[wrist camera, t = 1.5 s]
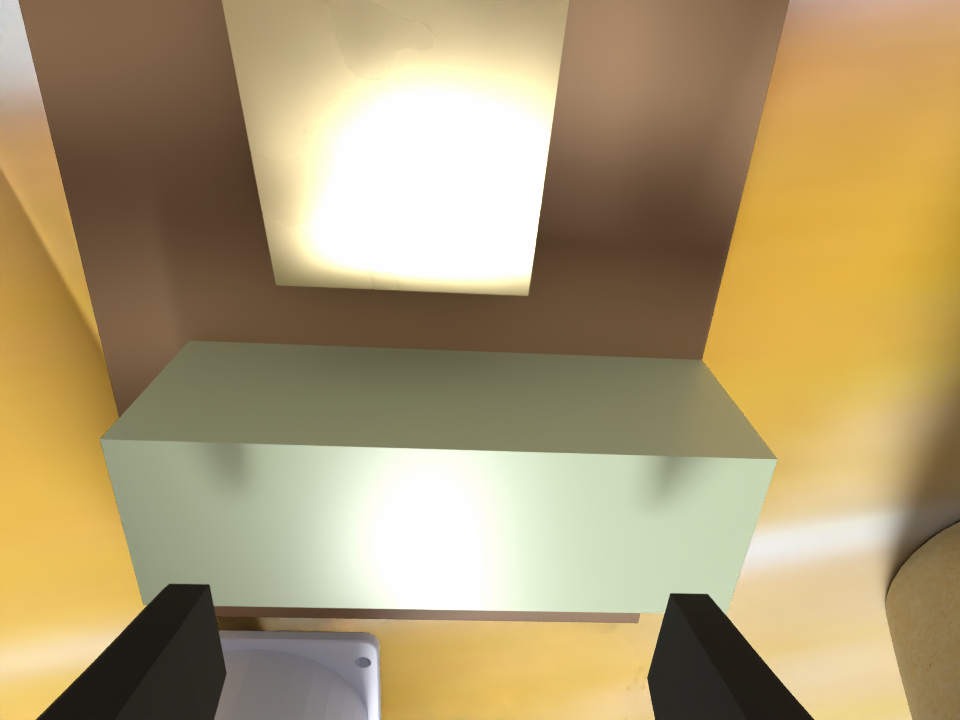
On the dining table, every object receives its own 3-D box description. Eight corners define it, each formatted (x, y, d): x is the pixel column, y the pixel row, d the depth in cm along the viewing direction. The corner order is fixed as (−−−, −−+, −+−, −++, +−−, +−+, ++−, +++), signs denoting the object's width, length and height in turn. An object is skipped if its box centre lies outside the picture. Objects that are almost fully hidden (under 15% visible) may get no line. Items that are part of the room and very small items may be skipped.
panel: (619, 562, 21) (652, 670, 18) (198, 553, 21) (142, 664, 17) (845, -512, 10) (1055, -813, 7) (-30, -611, 10) (-327, -1003, 6)
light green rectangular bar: (669, 492, 17) (726, 614, 13) (212, 480, 16) (143, 604, 13) (702, 360, 15) (777, 459, 11) (189, 340, 14) (99, 439, 11)
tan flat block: (524, 268, 13) (527, 295, 13) (287, 257, 13) (276, 284, 12) (568, -71, 9) (577, -59, 9) (227, -96, 9) (204, -87, 8)
